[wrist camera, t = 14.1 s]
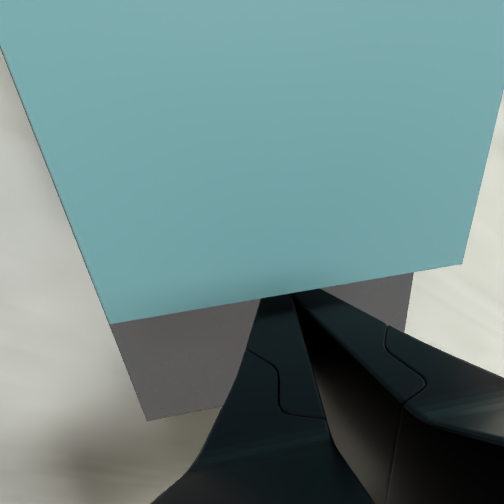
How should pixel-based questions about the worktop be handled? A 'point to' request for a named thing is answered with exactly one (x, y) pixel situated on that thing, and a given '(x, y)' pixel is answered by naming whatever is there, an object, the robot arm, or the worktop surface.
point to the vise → (219, 342)
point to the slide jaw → (258, 138)
